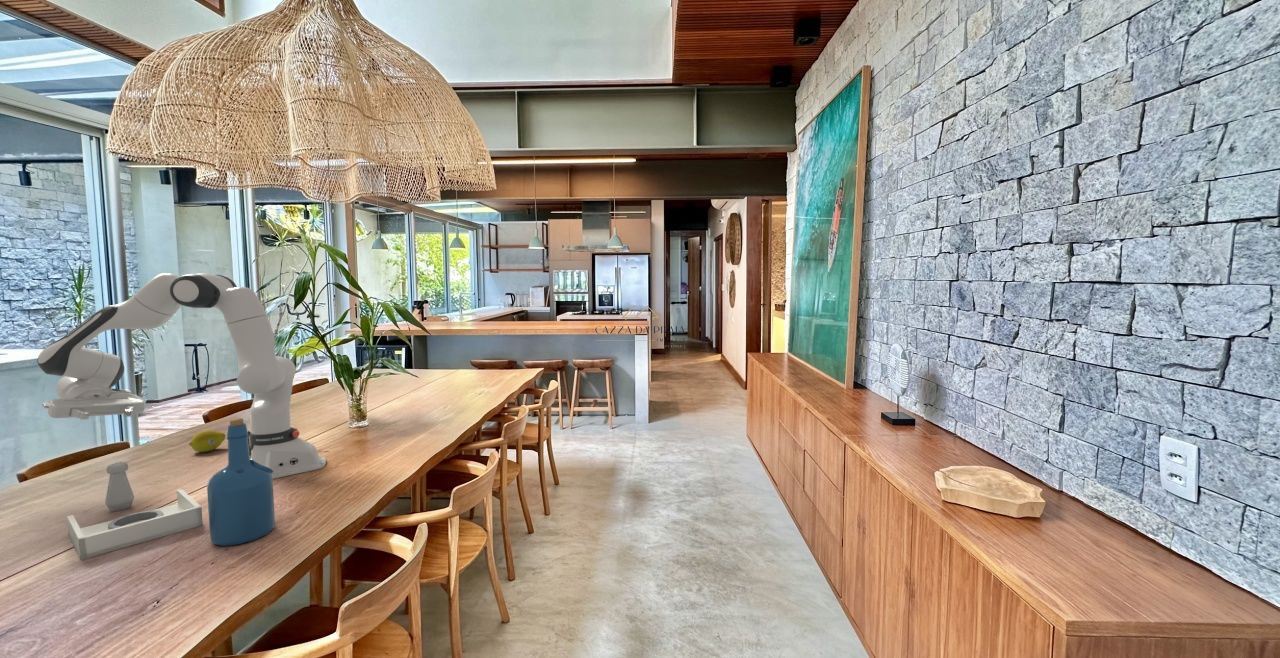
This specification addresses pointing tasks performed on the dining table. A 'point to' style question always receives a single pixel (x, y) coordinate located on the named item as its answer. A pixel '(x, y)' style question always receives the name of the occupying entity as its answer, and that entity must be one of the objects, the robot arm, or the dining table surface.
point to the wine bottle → (240, 494)
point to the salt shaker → (118, 488)
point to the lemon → (207, 441)
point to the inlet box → (135, 527)
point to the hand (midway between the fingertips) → (108, 415)
